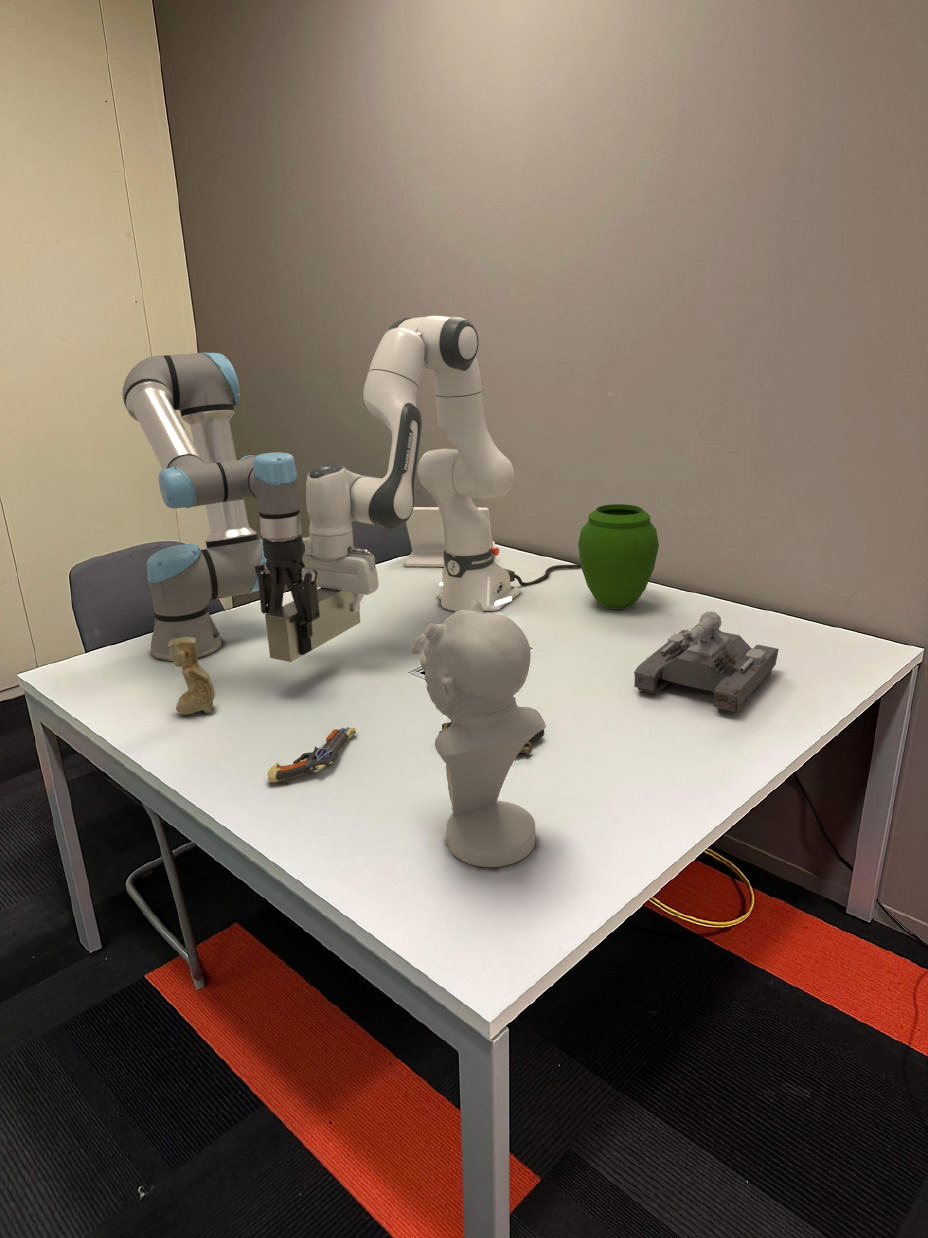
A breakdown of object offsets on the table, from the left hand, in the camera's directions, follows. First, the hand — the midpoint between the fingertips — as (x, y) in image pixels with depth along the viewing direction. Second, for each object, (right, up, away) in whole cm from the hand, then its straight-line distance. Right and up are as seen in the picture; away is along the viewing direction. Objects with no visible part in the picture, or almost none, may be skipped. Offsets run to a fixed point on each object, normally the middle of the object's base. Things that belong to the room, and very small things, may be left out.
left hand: (294, 649), depth 169 cm
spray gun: (+39, -15, -19) cm, 46 cm away
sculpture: (-18, -12, -5) cm, 22 cm away
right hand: (+7, +8, +11) cm, 15 cm away
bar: (+4, +2, +6) cm, 8 cm away
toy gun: (+8, -18, -23) cm, 30 cm away
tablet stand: (+30, +24, +87) cm, 95 cm away
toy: (+82, -7, +1) cm, 82 cm away
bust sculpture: (+35, -25, -44) cm, 62 cm away
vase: (+72, +10, +45) cm, 85 cm away
